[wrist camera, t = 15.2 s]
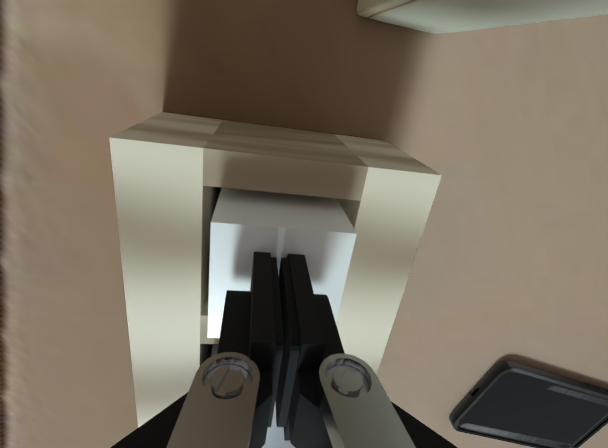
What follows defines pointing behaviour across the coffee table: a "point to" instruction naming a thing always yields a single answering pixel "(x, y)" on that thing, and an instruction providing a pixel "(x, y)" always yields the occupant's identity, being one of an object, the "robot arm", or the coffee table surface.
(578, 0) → the skincare box
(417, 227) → the wooden compartment tray
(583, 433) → the phone
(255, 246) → the white key
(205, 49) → the coffee table surface
